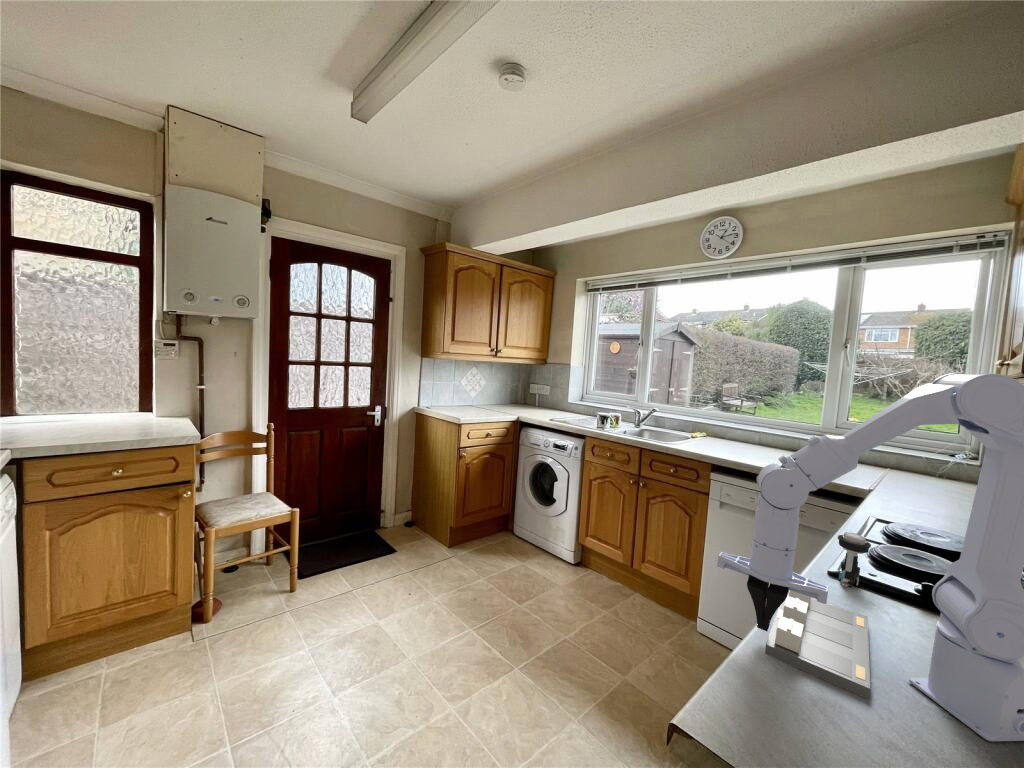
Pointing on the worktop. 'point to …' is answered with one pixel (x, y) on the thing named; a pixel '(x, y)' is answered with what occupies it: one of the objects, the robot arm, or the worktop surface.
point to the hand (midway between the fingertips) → (763, 626)
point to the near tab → (789, 634)
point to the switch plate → (829, 646)
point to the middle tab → (795, 610)
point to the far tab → (800, 597)
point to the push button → (852, 557)
